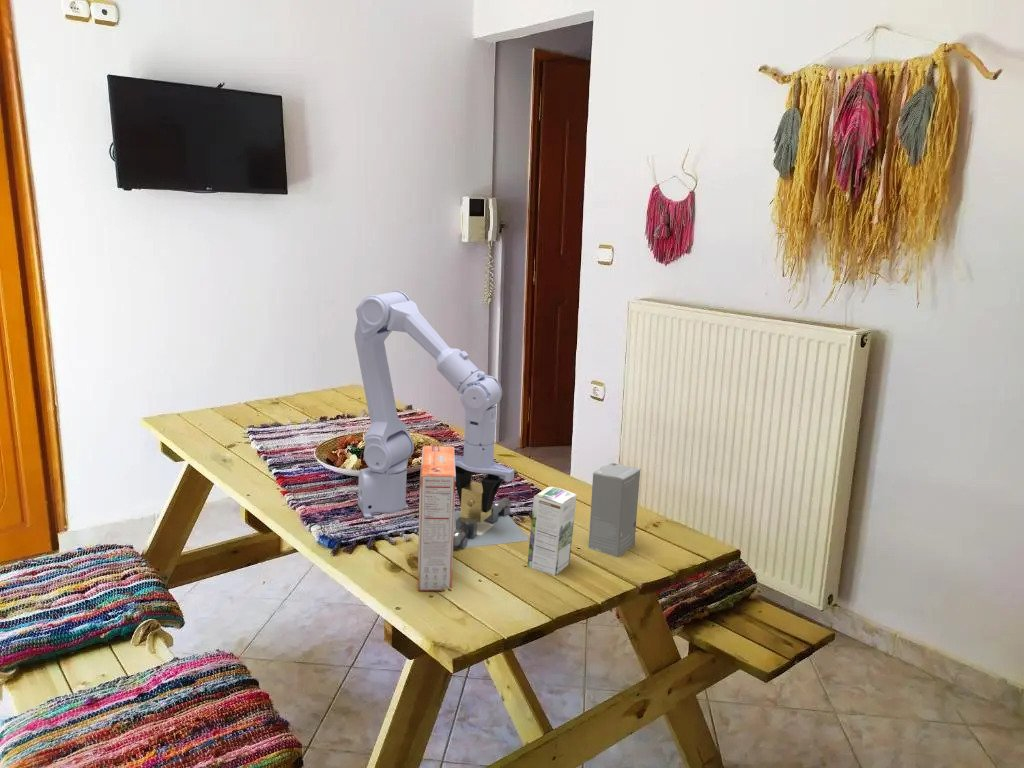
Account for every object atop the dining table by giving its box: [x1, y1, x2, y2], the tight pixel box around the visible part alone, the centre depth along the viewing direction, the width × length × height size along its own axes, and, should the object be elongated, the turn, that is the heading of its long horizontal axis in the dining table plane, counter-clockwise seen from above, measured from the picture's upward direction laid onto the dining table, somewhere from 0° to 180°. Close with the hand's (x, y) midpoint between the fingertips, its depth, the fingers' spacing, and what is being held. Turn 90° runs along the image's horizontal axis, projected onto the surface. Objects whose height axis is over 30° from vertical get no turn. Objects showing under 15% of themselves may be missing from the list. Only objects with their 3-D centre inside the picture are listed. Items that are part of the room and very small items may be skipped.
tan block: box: [460, 481, 492, 523], centre depth 154 cm, size 5×4×6 cm
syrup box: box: [526, 486, 578, 576], centre depth 141 cm, size 6×6×14 cm
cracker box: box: [417, 445, 456, 592], centre depth 136 cm, size 14×6×21 cm, turn 5°
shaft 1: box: [453, 517, 477, 550], centre depth 148 cm, size 7×4×3 cm, turn 161°
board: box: [453, 510, 530, 550], centre depth 156 cm, size 16×16×1 cm
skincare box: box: [588, 462, 641, 558], centre depth 150 cm, size 8×7×16 cm
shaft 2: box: [483, 497, 512, 524], centre depth 161 cm, size 7×4×3 cm, turn 146°
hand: (475, 507), depth 154 cm, fingers closed on tan block, 4 cm apart
